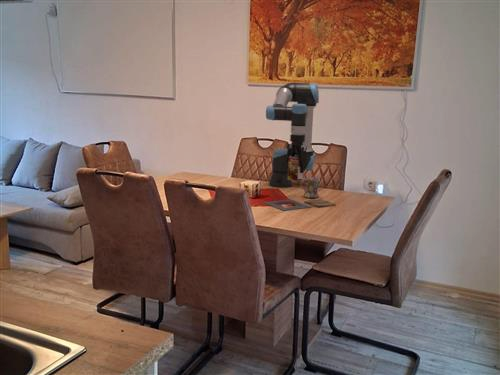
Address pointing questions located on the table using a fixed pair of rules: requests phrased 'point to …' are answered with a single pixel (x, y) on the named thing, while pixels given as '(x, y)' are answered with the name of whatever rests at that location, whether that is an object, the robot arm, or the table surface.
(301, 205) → the frame
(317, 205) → the walnut pad
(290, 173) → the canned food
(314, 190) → the mug
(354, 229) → the table surface
